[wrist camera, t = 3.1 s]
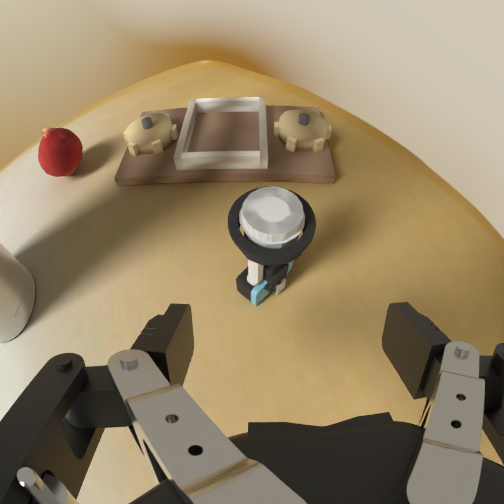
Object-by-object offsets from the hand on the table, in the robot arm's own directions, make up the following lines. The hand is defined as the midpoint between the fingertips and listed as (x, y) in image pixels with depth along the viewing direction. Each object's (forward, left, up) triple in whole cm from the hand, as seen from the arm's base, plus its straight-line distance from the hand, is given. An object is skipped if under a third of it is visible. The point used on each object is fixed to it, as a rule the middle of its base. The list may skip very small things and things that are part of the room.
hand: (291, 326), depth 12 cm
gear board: (-5, +26, -12) cm, 29 cm away
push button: (0, +8, -13) cm, 15 cm away
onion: (-25, +22, -13) cm, 36 cm away
